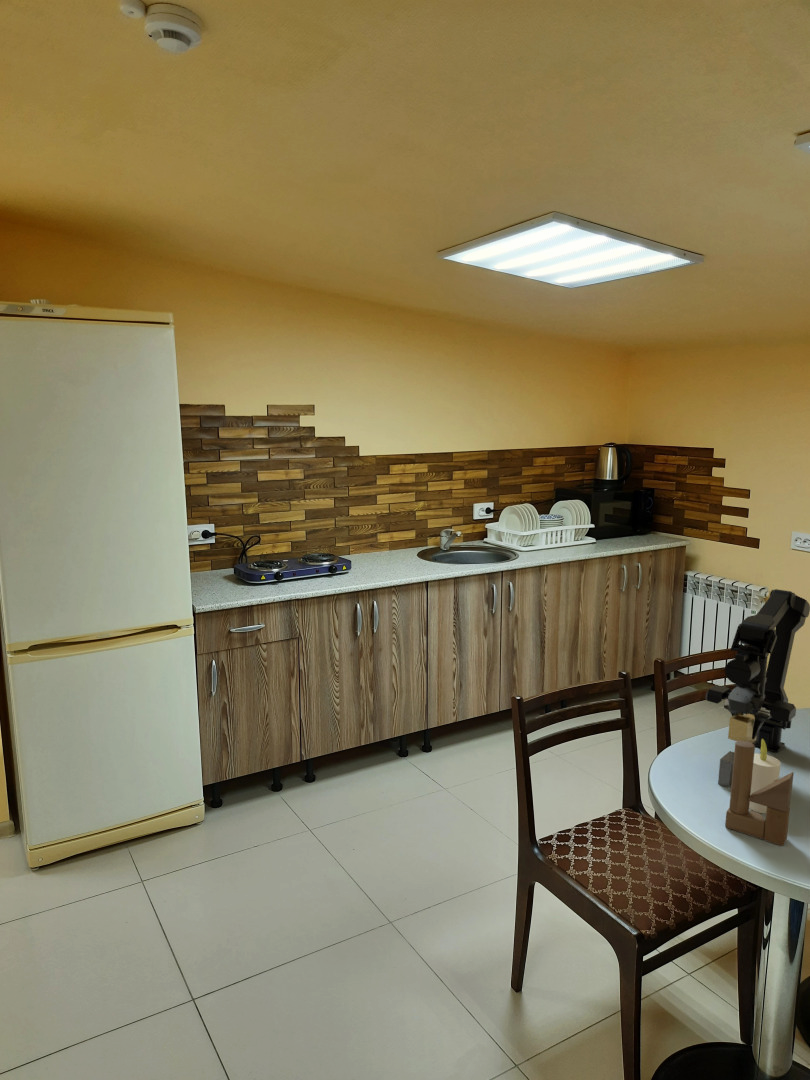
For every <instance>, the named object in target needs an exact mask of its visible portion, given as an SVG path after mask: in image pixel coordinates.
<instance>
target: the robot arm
mask: <svg viewBox="0 0 810 1080" xmlns="http://www.w3.org/2000/svg"><path fill="white" fill-rule="evenodd" d="M809 616H810V603H809V602H808V600H806V599H805V598H803V597H801V596H798V595H797V594H796V593H795V592H793V591H790V590H784V589H777V588H776V589H771V591H770V594H769V597H768V598H767V600H766V602H764V604H763V605H762V607H761V608H760V609H759V611H758V612H757V613H756V614H755V615H750V616H747V617H746V618H744V620H742V621H741V622H740V623H739V624H738V626H737V627H736V628H737V629H736V631H735V635H734V637H733V640H732V644H731V646H730V651H732V652H737V653H736V654H735V655H734V658H733V659H731V660H730V661H728V662H727V663H726V664H725V666H724V673H725V677H726V678H727V680H729V681H730V682H731V683H733V684H734V685H735V686H734V687H733V689H731V688H730V687H726V686H723V685H718V684H715V685H713V686H711V687H710V688H709V689H707V690H706V692H705V701H707V702H710V703H714V704H716V705H717V704H719V703H721V702H722V701H723V700H724V701H725V703H724V704H723V708H724V709H725V710H727V711H728V712H729V713H730V714H731V717H732V716H734V715H735V714H740V715H743V716H744V714H745V715H747V714H751V715H754V718H755V721H754V726H753V732H752V739H755V737H756V740H755V741H754V742H753V743H752V744H754V746H755V747H758V748H760V749H761V740H762V739H764V741H765V743H766V747H767V751H770V752H774V753H779V751H780V750H782V749H783V747H785V745H786V743H785V742H783V741H782V733H783V730H786V729H791V727H792V719H793V718H795V717H796V713H797V708H796V706H795V704H794V703H791V702H789V699H788V696H787V693H786V690H785V688H784V687H785V684H786V680H787V679H786V677H787V674H788V669H789V664H790V660H791V655H792V651H793V650H792V649H793V647H794V646H793V645H794V640H795V635H796V633H797V632H798V631H799V630H800V629H801V628H802V627H803V626H804V625H805V624H806V619H807V618H809ZM768 657H769V658H768ZM756 735H757V736H756Z"/></svg>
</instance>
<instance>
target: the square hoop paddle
mask: <svg viewBox="0 0 810 1080" xmlns="http://www.w3.org/2000/svg"><path fill="white" fill-rule="evenodd" d="M754 721H755V718H754V715H751V714H745V715H744V714H743V715H740V714H735V715H734V716H732V715H731V717H730V718H729V723H728V733H727V736H728V737H727V739H728V740H732V741H734V742H737V741H747V742H750V743H753V742H754V741H755V740H756V737H755V739H752V732H753V726H754ZM756 736H757V735H756Z"/></svg>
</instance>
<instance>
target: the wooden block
mask: <svg viewBox="0 0 810 1080" xmlns="http://www.w3.org/2000/svg"><path fill="white" fill-rule="evenodd" d="M735 742H736V743H734V751H733V752H734V763H733V774H732V785H731V786H730V798H729V808H728V809H727V810H726V813H725V823H724V824H725V828H727V829H729V830H732V831H736V832H740V833H742V834H745V835H747V836H751V837H754V838H757V839H759V840H764V841H765V842H769V843H770V844H775V845H778V846H780V847H783V846H785V843H786V841H787V839H788V831H789V822H790V811H791V807H790V806H791V801H792V792H793V791H792V790H793V782H794V772H793V771H792V772H791V773H788V774H786V775H784V776H783V777H779V779H778V780H777V781H775V782H773V783H771V784H769V785H767V786H765V787H763V788H761V789H759V790H758V791H756V792H754V793H752V794H751V796H750V793H751V783H752V773H753V762H754V754H755V753H756V752H755V750H756V746H754V744H752V743H750V742H747V741H735ZM750 801H751V802H754V803H757V804H760V805H764V806H767V811H766V814H765V817H764V816H762V814H761V813H758V812H755V811H753V810H750V809H749V804H750Z"/></svg>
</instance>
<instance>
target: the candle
mask: <svg viewBox="0 0 810 1080" xmlns="http://www.w3.org/2000/svg"><path fill="white" fill-rule="evenodd" d="M781 764H782V763H781V761H780V760H779V759H777V758H776V757H774V756H772V755H769V754H768V750H767V747H766V743H765V741H764V739H762V740H761V748H760V753H756V752H755V753H754V762H753V773H752V783H751V793H750V796H751V794H752V793H754V792H756V791H758V790H759V789H761V788H763V787H765V786H767V785H769V784H771V783H773V782H775V781H777V780H778V779H780V771H781ZM749 811H752V812H756V813H759V814H765V815H766V811H767V806H764V805H760V804H757V803H754V802H751V801H750V804H749Z"/></svg>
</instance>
